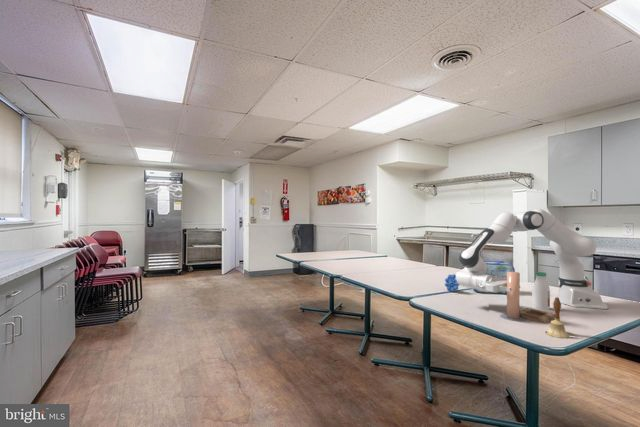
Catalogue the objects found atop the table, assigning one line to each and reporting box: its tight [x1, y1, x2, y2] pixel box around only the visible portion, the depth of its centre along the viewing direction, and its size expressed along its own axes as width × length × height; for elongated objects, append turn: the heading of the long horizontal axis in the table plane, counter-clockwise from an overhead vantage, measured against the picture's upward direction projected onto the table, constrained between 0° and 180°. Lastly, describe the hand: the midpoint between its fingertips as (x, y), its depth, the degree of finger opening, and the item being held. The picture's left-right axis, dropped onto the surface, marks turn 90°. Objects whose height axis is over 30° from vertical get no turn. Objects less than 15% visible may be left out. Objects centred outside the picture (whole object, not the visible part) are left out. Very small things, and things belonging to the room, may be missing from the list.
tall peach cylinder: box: [506, 271, 521, 319], centre depth 150 cm, size 5×5×22 cm
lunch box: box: [470, 260, 516, 295], centre depth 202 cm, size 26×11×21 cm, turn 81°
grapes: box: [444, 273, 460, 293], centre depth 203 cm, size 12×7×12 cm, turn 26°
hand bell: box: [544, 297, 570, 339], centre depth 131 cm, size 8×8×16 cm
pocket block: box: [519, 307, 555, 324], centre depth 150 cm, size 12×12×3 cm
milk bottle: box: [531, 271, 551, 311], centre depth 166 cm, size 8×8×20 cm
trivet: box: [499, 313, 528, 323], centre depth 150 cm, size 11×11×1 cm
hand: (515, 288), depth 149 cm, fingers open, 8 cm apart
